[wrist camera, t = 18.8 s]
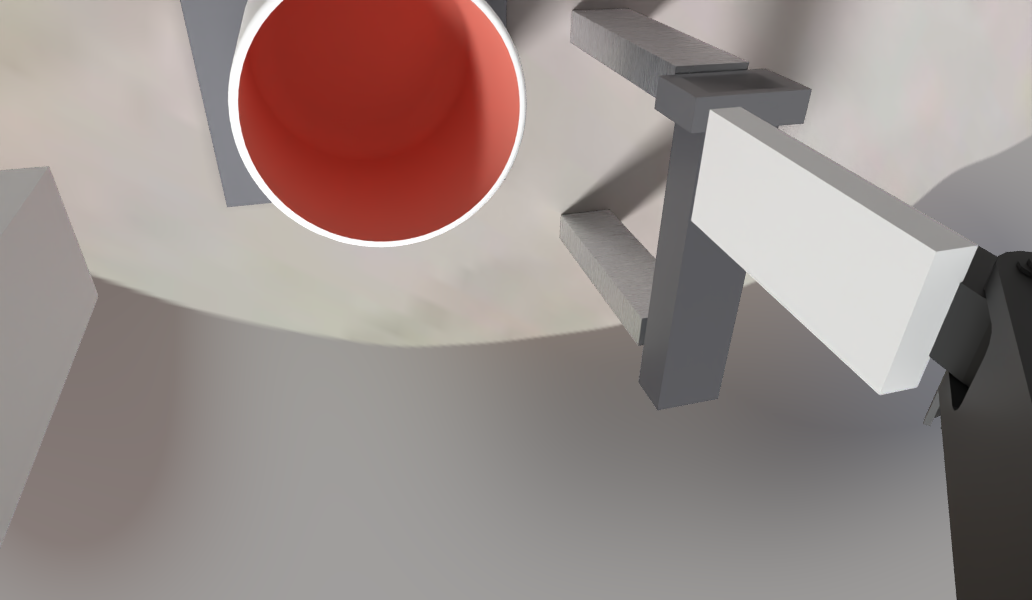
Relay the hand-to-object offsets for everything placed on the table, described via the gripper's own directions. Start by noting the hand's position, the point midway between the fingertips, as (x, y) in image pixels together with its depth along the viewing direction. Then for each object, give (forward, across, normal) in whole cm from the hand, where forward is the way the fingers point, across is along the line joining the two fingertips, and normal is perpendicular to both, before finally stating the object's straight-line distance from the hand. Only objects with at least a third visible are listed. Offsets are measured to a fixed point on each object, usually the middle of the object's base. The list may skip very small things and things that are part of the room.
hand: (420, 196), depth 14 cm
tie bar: (+10, +12, -8) cm, 17 cm away
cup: (+20, 0, -2) cm, 20 cm away
